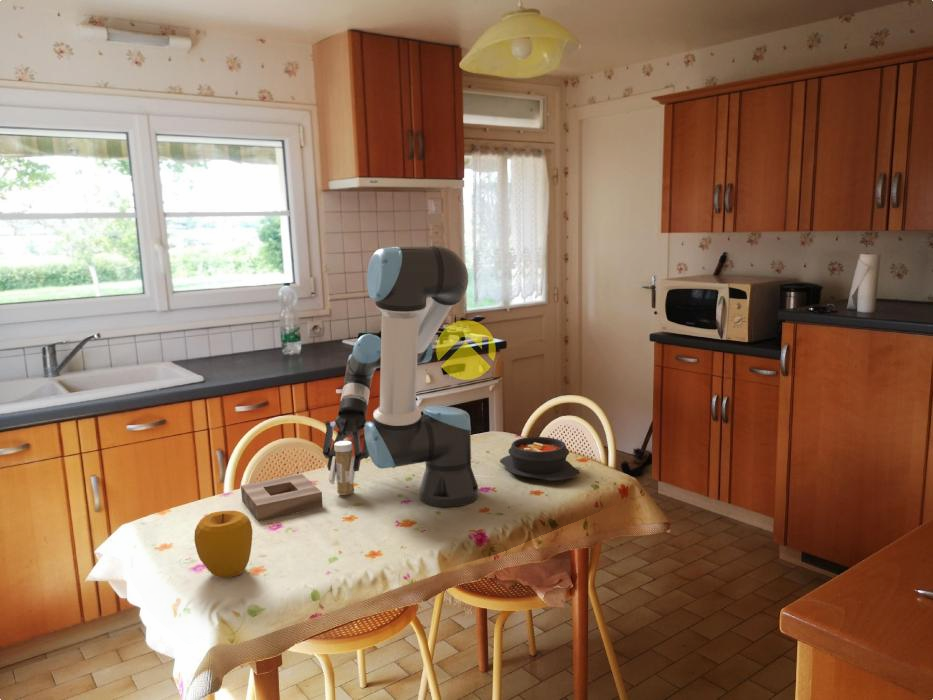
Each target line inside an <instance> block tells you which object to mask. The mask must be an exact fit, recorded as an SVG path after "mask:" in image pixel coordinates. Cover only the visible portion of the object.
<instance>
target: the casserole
mask: <svg viewBox="0 0 933 700" xmlns="http://www.w3.org/2000/svg"><path fill="white" fill-rule="evenodd" d="M510 445H511V446H510V447H509V448H508V455H506V456H504V457H502V458H500V459H499V463H500V464H501V465H503V466H504V467H505V469H506V470H507V471H508V472H510V473H512V474H514V475H516V476H519V477H524V478H526V479H527V478H528V479H535V480H536V479H538V480H544V481H549V482H550V481H551V482H559V481H565V480H569V479H572V478H574V477H576V476H578V475H580V473H581V472H580V470H579V469H578V468H576V467H575V466H573V465H572V464H571V463H570V462H569V461H568V460H567V457H568V456H569V455H570V450H569V449H568V448H567V445H566V443H565V442H564V441H562V440H560V439H558V438H553V437H547V436H531V437H530V436H529V437H523V438H522V437H521V438H519V439H516V440H514V441H513V442H512V443H511V444H510Z"/></svg>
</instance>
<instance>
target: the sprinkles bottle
mask: <svg viewBox="0 0 933 700" xmlns="http://www.w3.org/2000/svg"><path fill="white" fill-rule="evenodd" d="M333 444H334V443H333ZM334 450H335V455H336V476H335V479H336V482H337V483H336V484H337V485H336V487H337V488H336V489H337V490H336V493H337V494H338V495H341V496H347V495H351V494H354V492H355V488H354V483H355V482H353V484H350V483H349V481H348V476H349V470H350V464H351V458H352V457H353V452H352V451H353V443H352V441H349V440H343V441H339V442H336V443H335V444H334Z"/></svg>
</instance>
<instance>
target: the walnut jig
mask: <svg viewBox="0 0 933 700" xmlns="http://www.w3.org/2000/svg"><path fill="white" fill-rule="evenodd" d="M240 494H241V501H242V502H243V504H244V505H245V507H246V508H247V509H248V510H249V512H250V513H251V514H252V516H253V517H254V518H255V520H256V521H257V522H261V521H263V522H264V521H266V520H270V519H275V518H280V516H281V517H285V516H289V514H290V515H293V513H294V514H297V512H299V513H303V512H307V510H308V511H312V510H316V509H315V508H317V509H320V508H319V507H322V508H323V506H324V505H323V493H322V491H321V490H320V489H319V488H318V487H317V486H316V485H315V484H313V483H312V481H310V480H309V479H308V477H306V476H305V475H304V474H303V473H300V474H299V473H298V474H293V475H288V476H283V477H278V478H273V479H268V480H263V481H256V482H252V483H248V484H241V485H240ZM311 509H312V510H311ZM302 511H303V512H302Z"/></svg>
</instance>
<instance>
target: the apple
mask: <svg viewBox="0 0 933 700" xmlns="http://www.w3.org/2000/svg"><path fill="white" fill-rule="evenodd" d="M193 537H194V544H195V549H196V553H197V555H198V558H199V561H200V562H201V563H202V564H203V566H204V567H205V568H206V569H207V570H208V572H209V573H211V575H213V576H215V577H218V578H220V579H229V578H233V577H236V576H240V575H241V574H242V573H243V572H245V570H246V569H247V566H248V563H249V561H250V557H251V551H252V545H253V527H252V522H251V520H250V518H249V516H248V515H246V514H245V513H243V512H241V511H238V510H222V511H221V510H220V511H214V512H211V513H209V514H206V515H205V516H204V517H202V518H201V519H200V520H199V521H198V523H197V525H196V527H195V528H194V536H193Z"/></svg>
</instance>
